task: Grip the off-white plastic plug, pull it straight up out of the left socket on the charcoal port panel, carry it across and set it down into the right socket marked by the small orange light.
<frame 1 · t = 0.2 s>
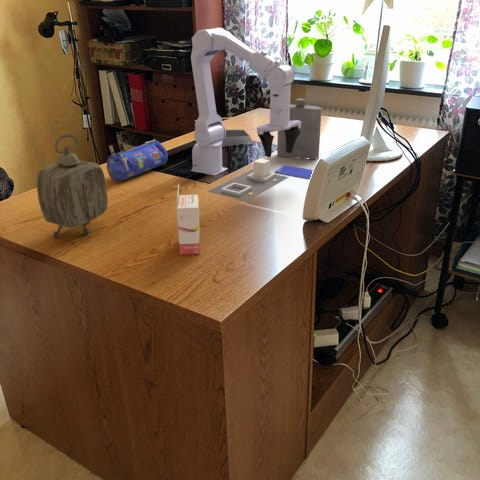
hand: (278, 154, 161), 10 cm above the table, tool pointing down, fingers open, 7 cm apart
pencil case: (139, 173, 177), on the table
plug: (261, 177, 170), on the table, touching port panel
flask: (297, 156, 192), on the table
ink cartridge box: (190, 247, 128), on the table
tabletop clock: (81, 233, 135), on the table
port panel: (249, 185, 165), on the table
hard drive: (297, 176, 175), on the table
external hard drive: (225, 144, 208), on the table
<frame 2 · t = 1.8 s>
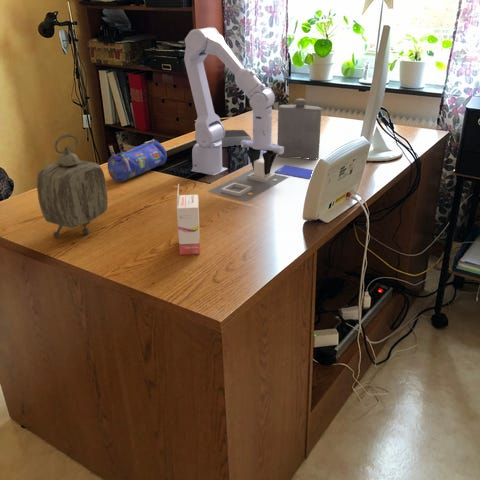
hand: (261, 172, 169), 2 cm above the table, tool pointing down, fingers closed on plug, 4 cm apart
plug: (261, 177, 170), on the table, touching gripper, port panel
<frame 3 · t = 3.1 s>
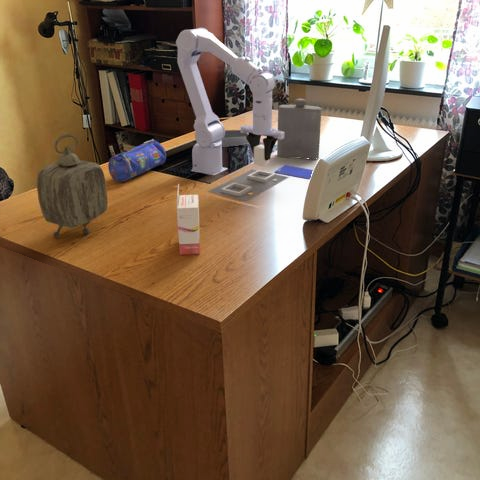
hand: (261, 158, 167), 7 cm above the table, tool pointing down, fingers closed on plug, 4 cm apart
plug: (261, 163, 168), point 5 cm above the table, touching gripper
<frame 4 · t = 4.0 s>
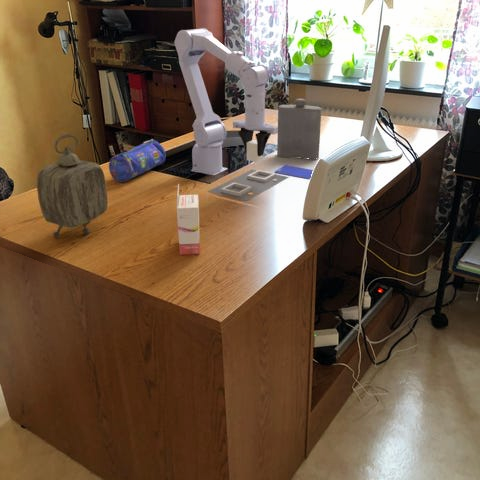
hand: (254, 154, 163), 9 cm above the table, tool pointing down, fingers closed on plug, 4 cm apart
plug: (254, 159, 164), point 7 cm above the table, touching gripper
everything else where it was.
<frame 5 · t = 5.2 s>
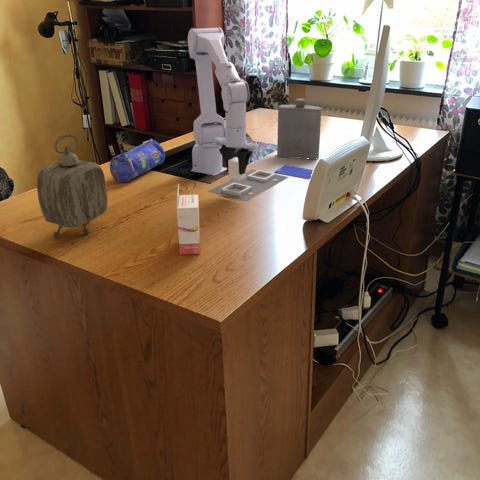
hand: (236, 172, 157), 6 cm above the table, tool pointing down, fingers closed on plug, 4 cm apart
plug: (237, 177, 158), point 5 cm above the table, touching gripper
when the fingers open (3 cm above the table, at t = 6.2 s): plug stays where it is, resting on port panel.
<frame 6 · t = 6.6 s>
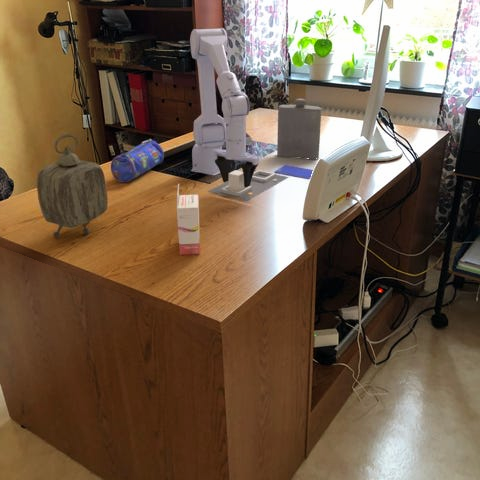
hand: (236, 183, 159), 3 cm above the table, tool pointing down, fingers open, 7 cm apart
plug: (237, 190, 160), resting on port panel
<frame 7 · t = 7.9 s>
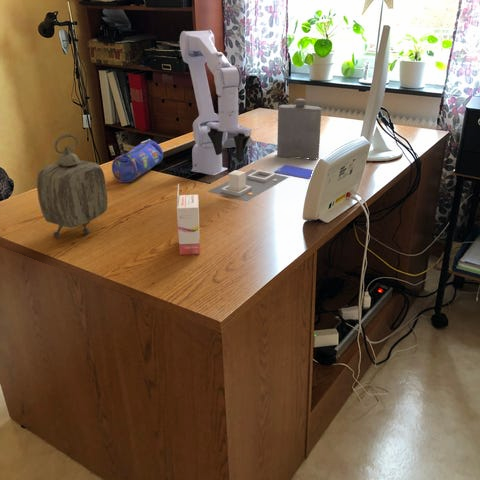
hand: (229, 156, 161), 9 cm above the table, tool pointing down, fingers open, 7 cm apart
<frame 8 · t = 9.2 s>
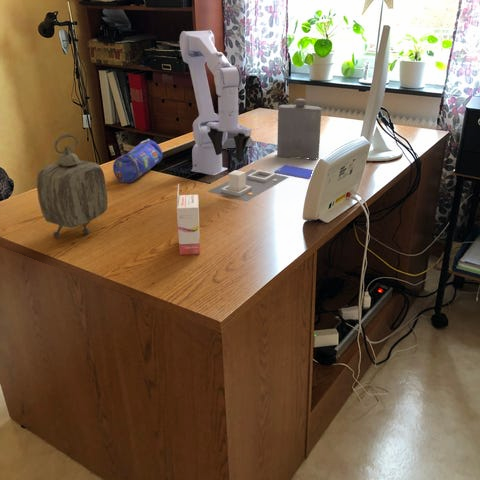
hand: (229, 156, 161), 9 cm above the table, tool pointing down, fingers open, 7 cm apart
at the end: plug 0.4 cm from the target spot on the port panel, point 0.5 cm above the port panel's base; plug tilted 0°; the gripper is holding nothing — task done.
